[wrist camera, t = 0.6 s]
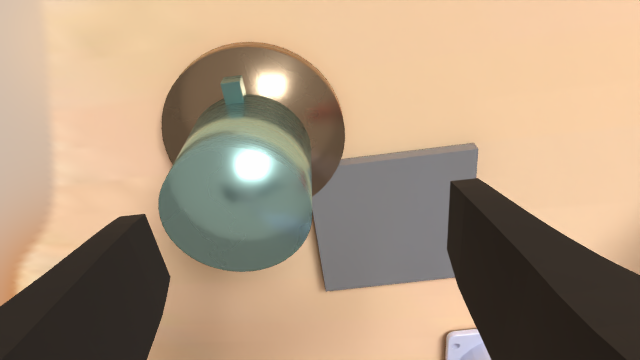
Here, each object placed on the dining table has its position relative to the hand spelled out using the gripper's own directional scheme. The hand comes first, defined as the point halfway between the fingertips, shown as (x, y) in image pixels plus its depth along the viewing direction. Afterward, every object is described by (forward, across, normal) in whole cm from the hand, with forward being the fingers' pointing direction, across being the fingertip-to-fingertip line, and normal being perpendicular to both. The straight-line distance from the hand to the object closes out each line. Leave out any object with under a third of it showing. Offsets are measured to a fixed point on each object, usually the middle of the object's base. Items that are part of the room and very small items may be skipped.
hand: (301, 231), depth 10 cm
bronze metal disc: (+10, +2, +2) cm, 10 cm away
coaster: (+10, -4, +8) cm, 13 cm away
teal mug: (+8, +2, +2) cm, 8 cm away
